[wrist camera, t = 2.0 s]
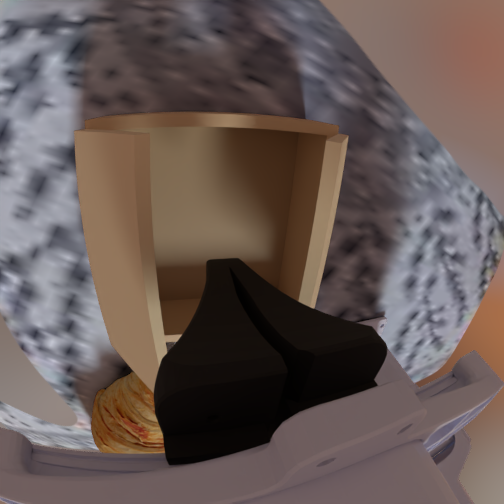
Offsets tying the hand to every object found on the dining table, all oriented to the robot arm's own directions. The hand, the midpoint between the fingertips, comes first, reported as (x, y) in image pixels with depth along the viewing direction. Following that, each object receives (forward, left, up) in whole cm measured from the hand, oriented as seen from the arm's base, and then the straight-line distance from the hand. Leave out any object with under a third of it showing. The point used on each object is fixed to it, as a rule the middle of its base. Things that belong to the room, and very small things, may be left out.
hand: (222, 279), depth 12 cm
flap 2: (0, -4, -1) cm, 4 cm away
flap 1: (0, +4, -1) cm, 4 cm away
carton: (0, 0, -7) cm, 7 cm away
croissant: (-21, +7, -8) cm, 23 cm away
